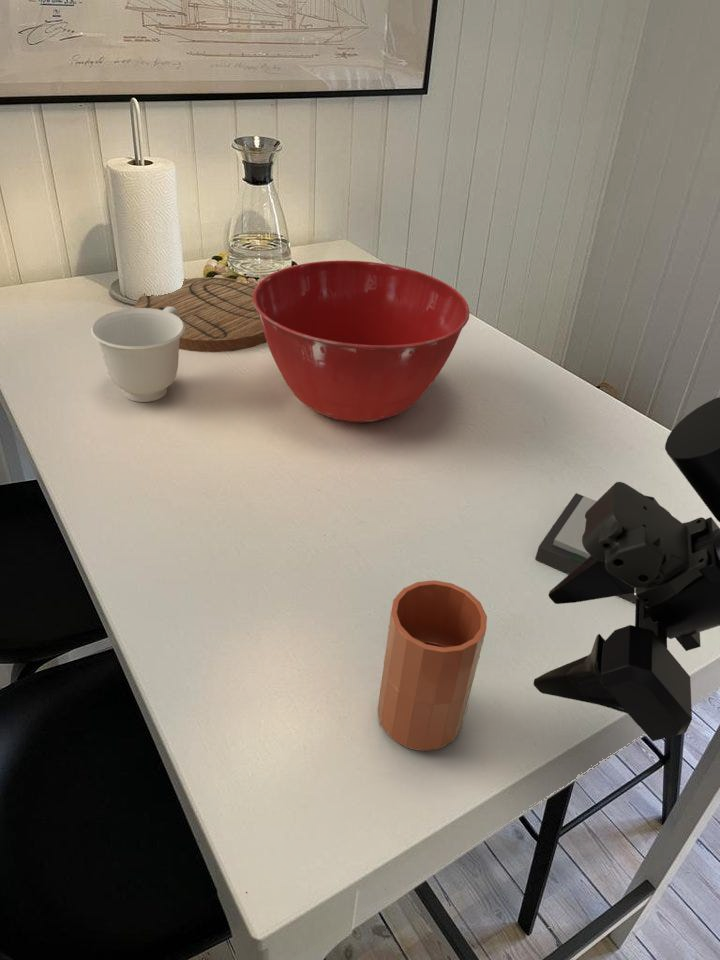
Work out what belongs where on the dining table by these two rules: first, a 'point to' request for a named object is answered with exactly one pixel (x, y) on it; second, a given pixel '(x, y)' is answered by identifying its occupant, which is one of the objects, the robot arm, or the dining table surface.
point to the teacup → (140, 349)
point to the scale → (569, 539)
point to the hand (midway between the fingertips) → (544, 639)
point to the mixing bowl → (358, 334)
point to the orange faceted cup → (430, 663)
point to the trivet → (213, 314)
